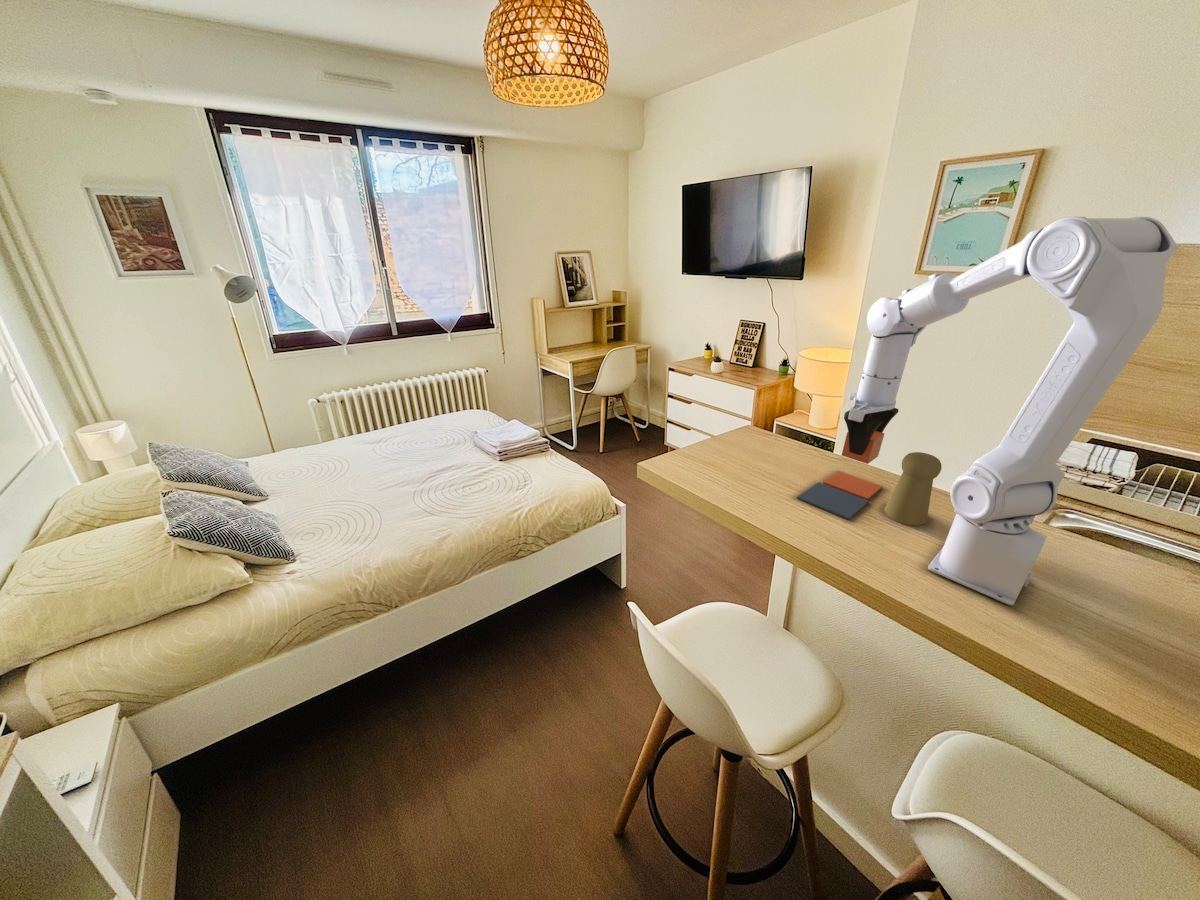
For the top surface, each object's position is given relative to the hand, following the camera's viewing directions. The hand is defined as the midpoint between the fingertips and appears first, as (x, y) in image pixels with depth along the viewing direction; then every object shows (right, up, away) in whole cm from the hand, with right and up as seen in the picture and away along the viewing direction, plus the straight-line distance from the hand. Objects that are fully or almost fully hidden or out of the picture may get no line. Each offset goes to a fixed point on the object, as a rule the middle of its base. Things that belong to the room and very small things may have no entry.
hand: (862, 448), depth 82 cm
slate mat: (-6, -9, -1) cm, 11 cm away
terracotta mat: (0, -7, +4) cm, 8 cm away
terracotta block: (0, -1, +1) cm, 1 cm away
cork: (+4, -11, -5) cm, 13 cm away
